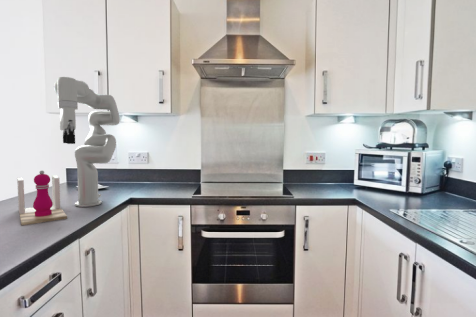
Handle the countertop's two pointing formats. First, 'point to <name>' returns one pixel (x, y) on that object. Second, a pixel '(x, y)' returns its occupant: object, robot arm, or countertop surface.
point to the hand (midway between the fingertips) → (69, 143)
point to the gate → (27, 210)
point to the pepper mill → (42, 195)
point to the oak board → (42, 217)
